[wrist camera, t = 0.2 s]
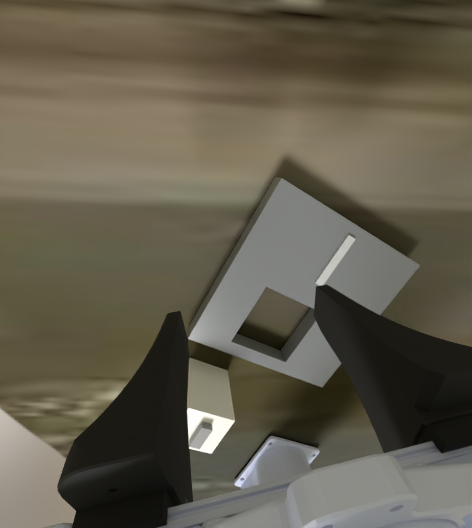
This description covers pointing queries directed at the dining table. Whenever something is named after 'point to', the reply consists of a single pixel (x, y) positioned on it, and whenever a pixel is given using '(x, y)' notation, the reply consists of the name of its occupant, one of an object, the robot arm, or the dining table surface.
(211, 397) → the block
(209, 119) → the dining table surface
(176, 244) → the dining table surface
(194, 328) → the socket plate
